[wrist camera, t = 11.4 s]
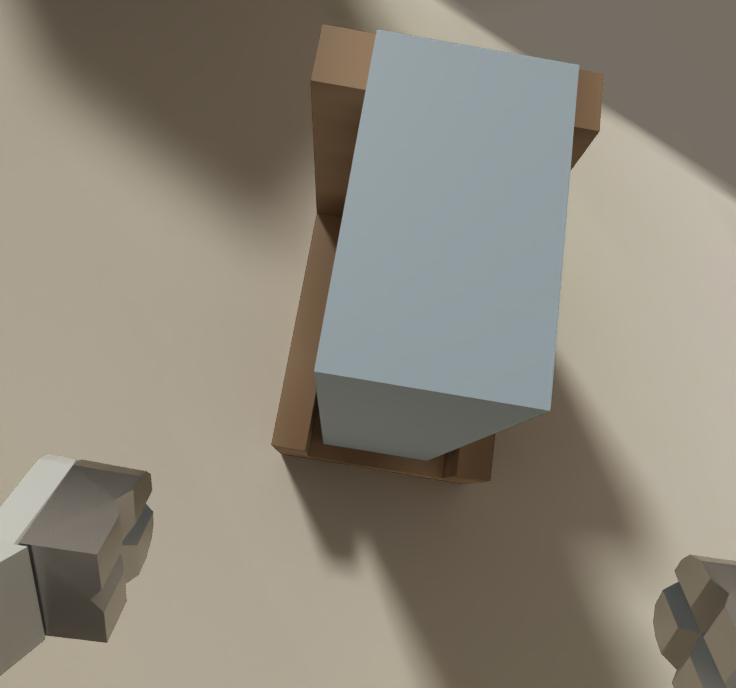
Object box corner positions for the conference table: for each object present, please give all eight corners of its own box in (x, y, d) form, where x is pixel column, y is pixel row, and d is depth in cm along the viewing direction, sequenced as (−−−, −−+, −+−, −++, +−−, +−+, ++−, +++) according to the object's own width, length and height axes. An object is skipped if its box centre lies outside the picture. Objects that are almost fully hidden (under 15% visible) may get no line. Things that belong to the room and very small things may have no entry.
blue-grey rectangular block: (323, 443, 21) (313, 371, 9) (352, 276, 22) (376, 29, 10) (426, 460, 21) (550, 411, 9) (448, 293, 22) (579, 64, 11)
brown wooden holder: (280, 453, 21) (239, 415, 12) (325, 218, 24) (322, 23, 14) (465, 484, 22) (575, 470, 12) (492, 247, 24) (603, 73, 14)
